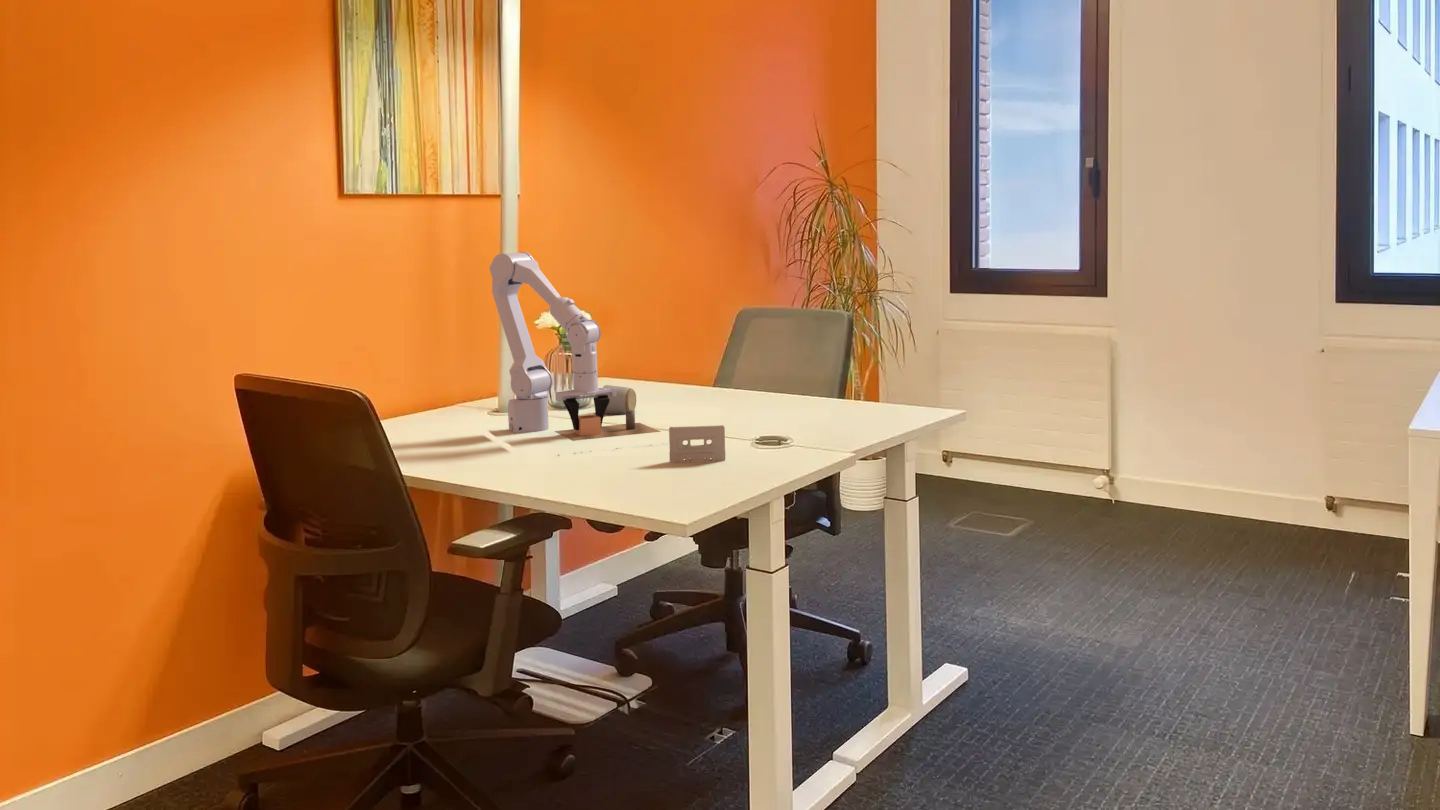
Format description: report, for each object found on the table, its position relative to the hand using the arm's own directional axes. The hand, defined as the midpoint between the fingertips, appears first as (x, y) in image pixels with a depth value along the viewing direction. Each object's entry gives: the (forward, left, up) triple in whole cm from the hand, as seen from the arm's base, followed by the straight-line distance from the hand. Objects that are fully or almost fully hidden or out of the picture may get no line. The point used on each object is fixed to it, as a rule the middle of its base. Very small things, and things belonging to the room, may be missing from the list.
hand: (587, 428), depth 294 cm
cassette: (+12, -38, -2) cm, 40 cm away
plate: (+5, 0, -2) cm, 5 cm away
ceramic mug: (+19, +29, -2) cm, 35 cm away
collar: (0, 0, -1) cm, 1 cm away
